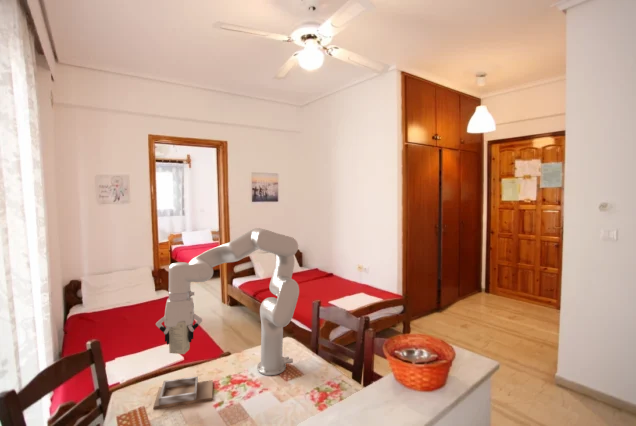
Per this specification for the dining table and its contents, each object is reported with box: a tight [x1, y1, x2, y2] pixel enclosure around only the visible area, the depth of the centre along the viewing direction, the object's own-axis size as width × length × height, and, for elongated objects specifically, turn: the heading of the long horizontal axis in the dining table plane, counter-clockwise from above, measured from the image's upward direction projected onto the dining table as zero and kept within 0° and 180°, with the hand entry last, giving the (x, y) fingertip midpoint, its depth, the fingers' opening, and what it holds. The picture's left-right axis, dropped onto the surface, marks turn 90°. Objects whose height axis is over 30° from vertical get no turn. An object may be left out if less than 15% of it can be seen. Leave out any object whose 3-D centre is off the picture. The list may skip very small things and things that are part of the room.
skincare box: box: [168, 322, 191, 355], centre depth 124 cm, size 6×4×12 cm
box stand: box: [153, 376, 214, 410], centre depth 126 cm, size 20×12×4 cm, turn 107°
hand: (179, 341), depth 124 cm, fingers closed on skincare box, 7 cm apart
